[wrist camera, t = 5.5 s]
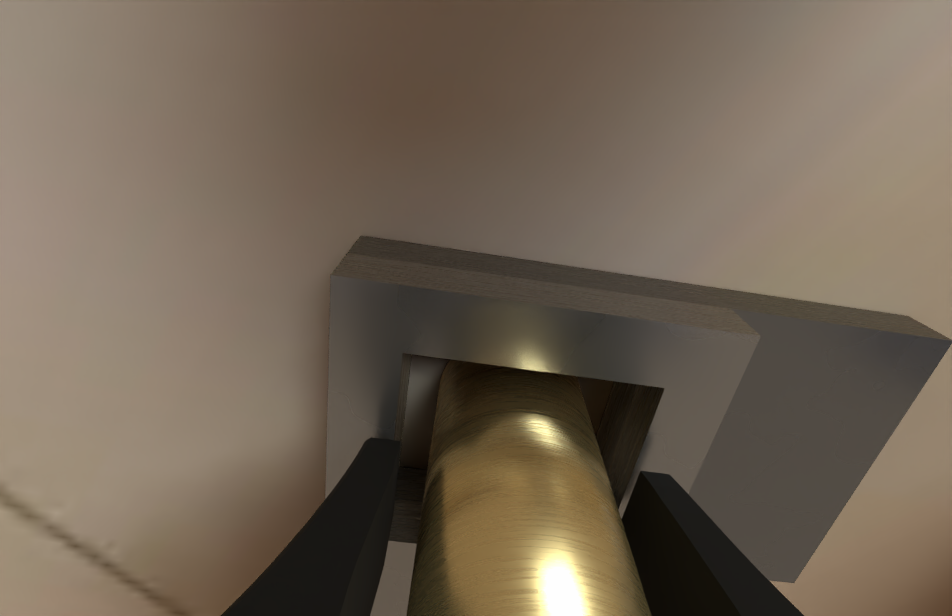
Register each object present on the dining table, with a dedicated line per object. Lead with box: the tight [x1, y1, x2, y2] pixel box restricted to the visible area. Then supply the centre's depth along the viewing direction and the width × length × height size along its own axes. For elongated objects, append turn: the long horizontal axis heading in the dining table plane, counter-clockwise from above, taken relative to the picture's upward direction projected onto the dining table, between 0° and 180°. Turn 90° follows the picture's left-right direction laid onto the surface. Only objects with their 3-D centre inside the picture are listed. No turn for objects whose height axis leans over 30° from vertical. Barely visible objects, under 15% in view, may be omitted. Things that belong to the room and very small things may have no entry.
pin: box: [406, 359, 651, 616], centre depth 9 cm, size 4×4×7 cm
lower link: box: [348, 236, 952, 583], centre depth 12 cm, size 13×8×1 cm, turn 81°
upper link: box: [325, 253, 761, 616], centre depth 13 cm, size 8×17×2 cm, turn 171°
